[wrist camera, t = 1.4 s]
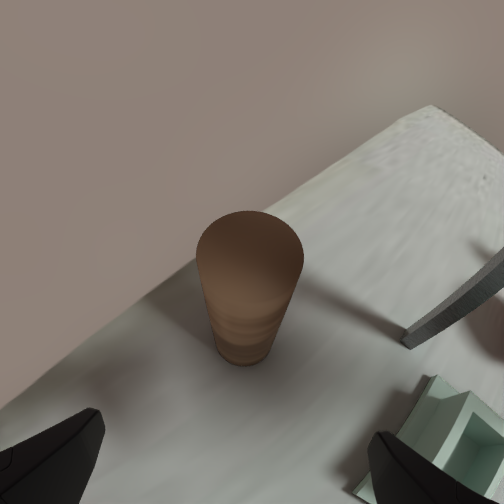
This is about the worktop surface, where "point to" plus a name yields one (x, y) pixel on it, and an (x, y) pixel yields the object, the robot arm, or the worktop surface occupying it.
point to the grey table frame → (458, 303)
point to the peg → (248, 281)
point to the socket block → (453, 438)
